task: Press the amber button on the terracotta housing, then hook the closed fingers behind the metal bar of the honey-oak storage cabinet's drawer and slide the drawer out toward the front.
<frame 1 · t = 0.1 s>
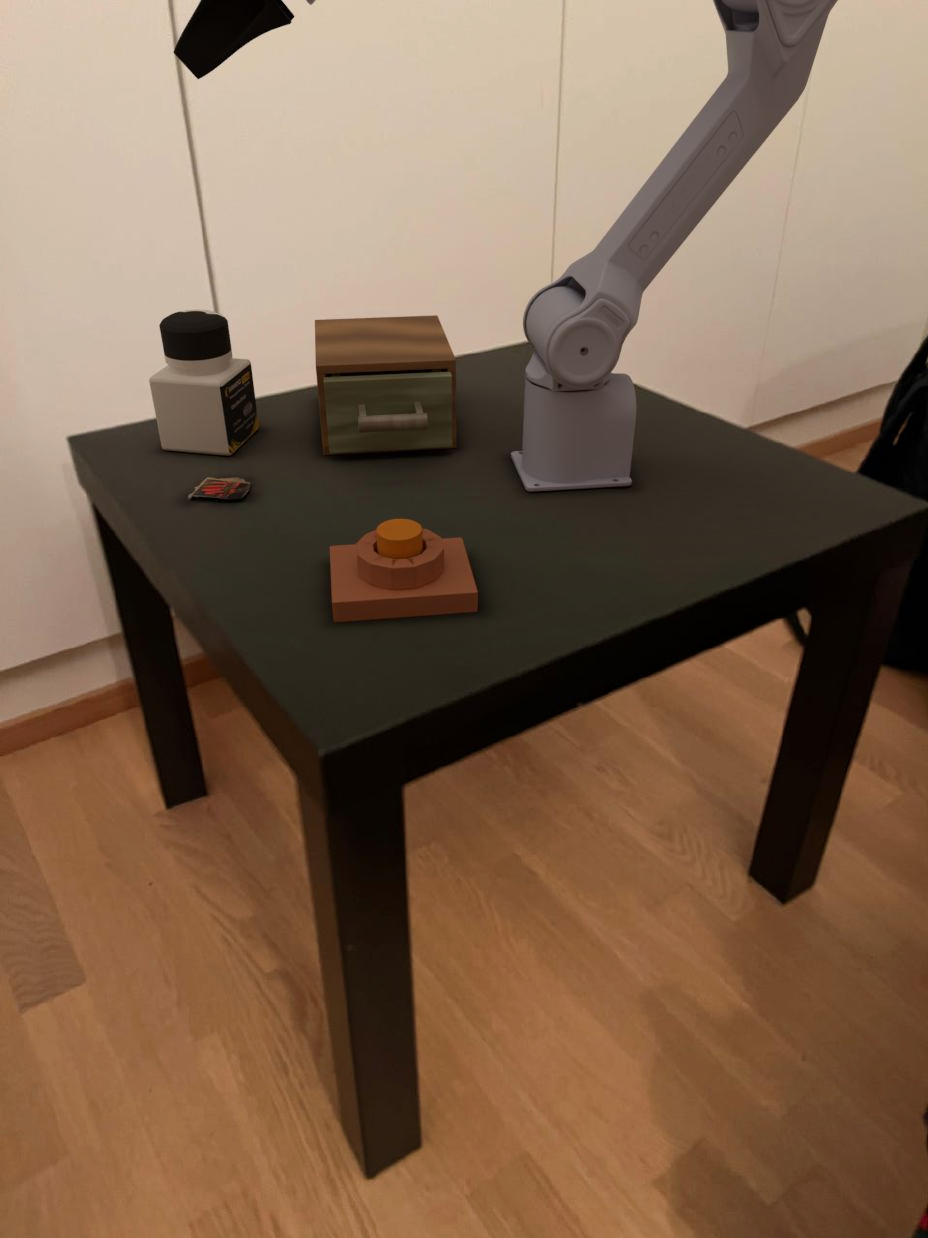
hand: (191, 62, 63), 32 cm above the table, tool tilted 50°, fingers open, 7 cm apart
button: (399, 539, 66), point 4 cm above the table, slide at 0.1 cm
matchbox: (223, 492, 81), on the table
button box: (401, 587, 68), on the table
drawer: (386, 398, 88), point 4 cm above the table, slide at 0.5 cm
cabinet: (385, 423, 94), on the table
medicine bottle: (212, 441, 91), on the table
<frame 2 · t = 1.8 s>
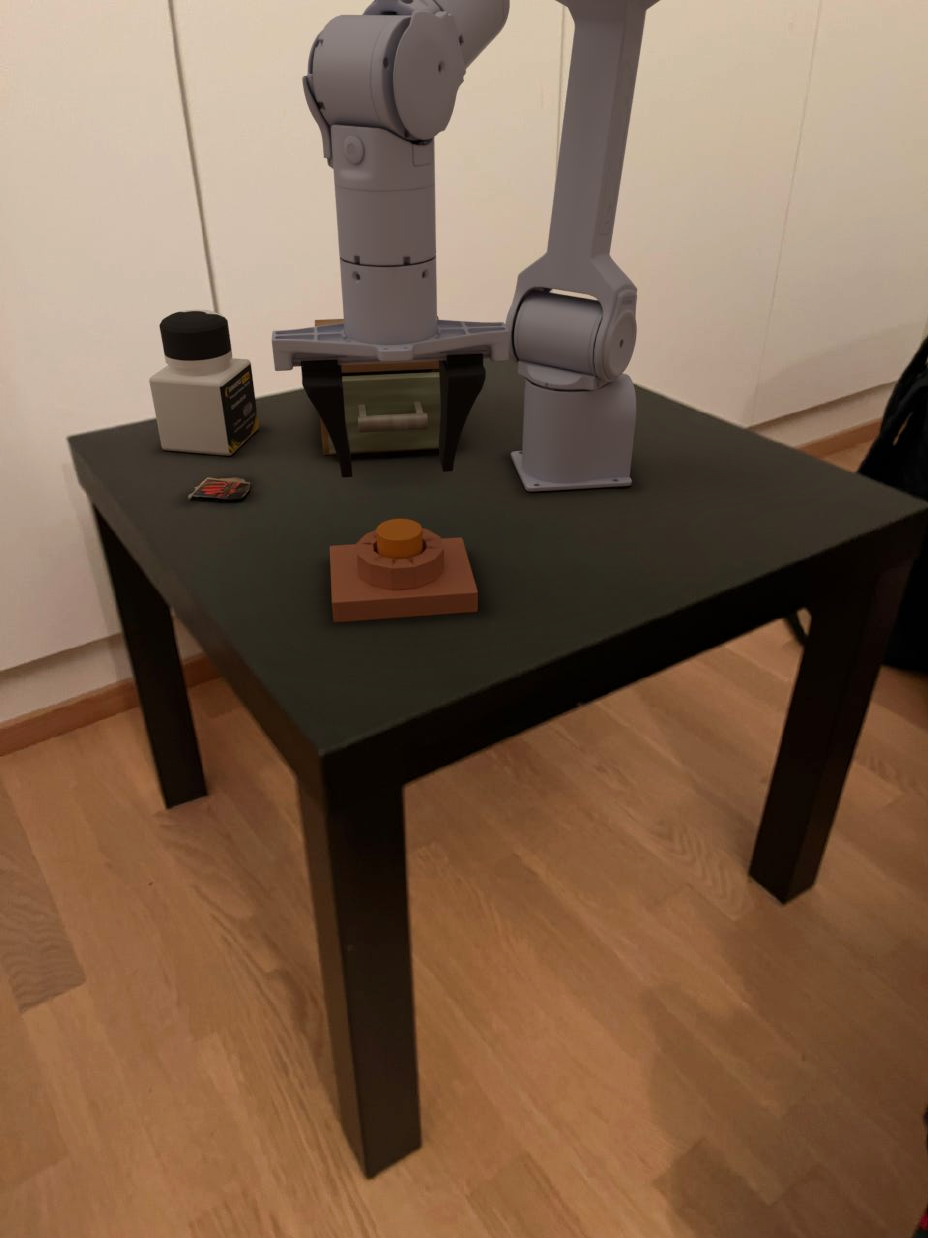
hand: (396, 468, 63), 9 cm above the table, tool pointing down, fingers open, 6 cm apart
nothing on the table moved.
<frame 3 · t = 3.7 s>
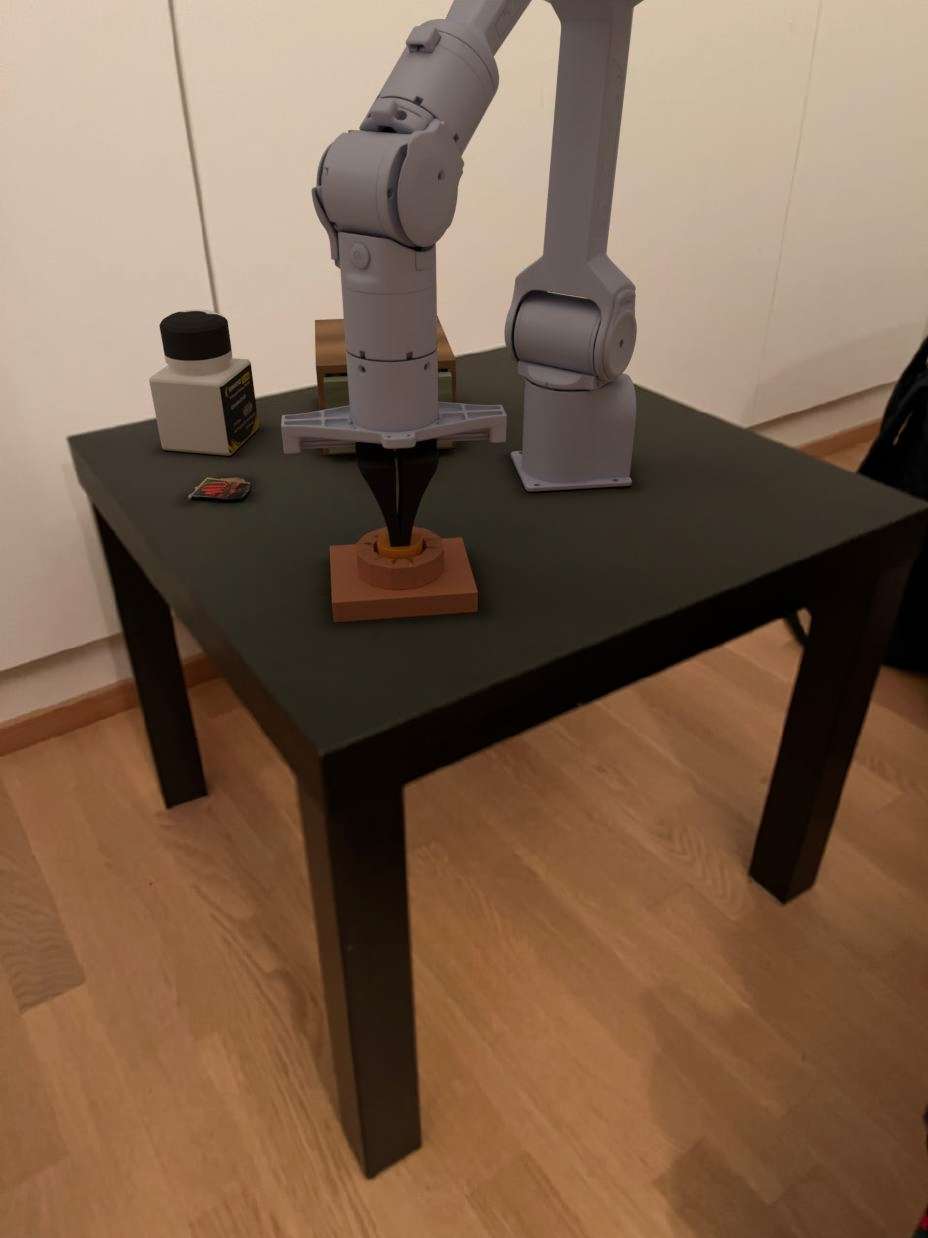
hand: (399, 540, 66), 4 cm above the table, tool pointing down, fingers closed, pressing on button
button: (400, 550, 66), point 3 cm above the table, slide at -0.8 cm, touching gripper
everything else where it was.
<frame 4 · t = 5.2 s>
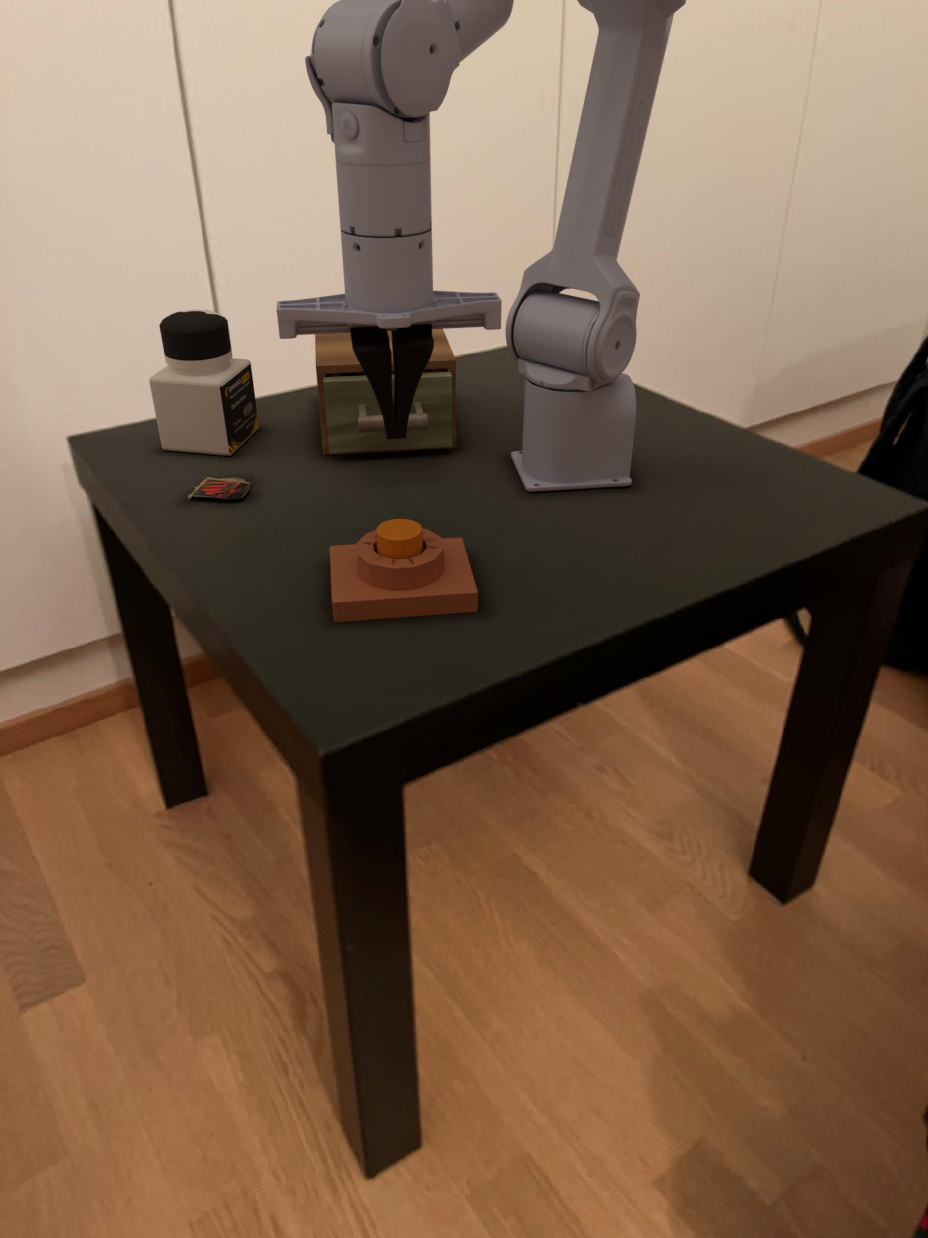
hand: (395, 433, 66), 10 cm above the table, tool pointing down, fingers closed
button: (399, 539, 66), point 4 cm above the table, slide at 0.1 cm
everything else where it was.
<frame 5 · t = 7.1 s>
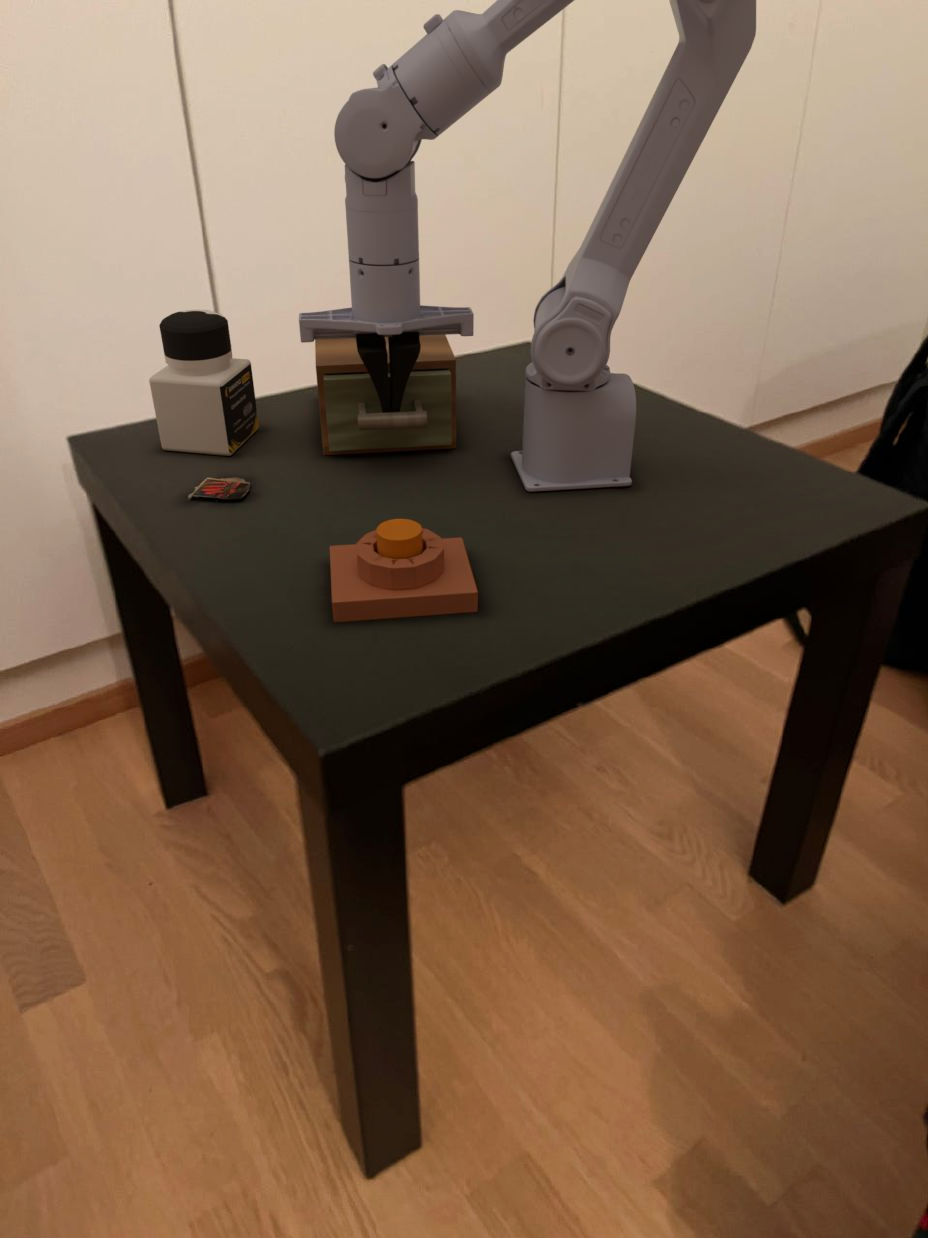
hand: (390, 417, 83), 5 cm above the table, tool pointing down, fingers closed
drawer: (386, 396, 89), point 4 cm above the table, slide at 0.0 cm
everything else where it was.
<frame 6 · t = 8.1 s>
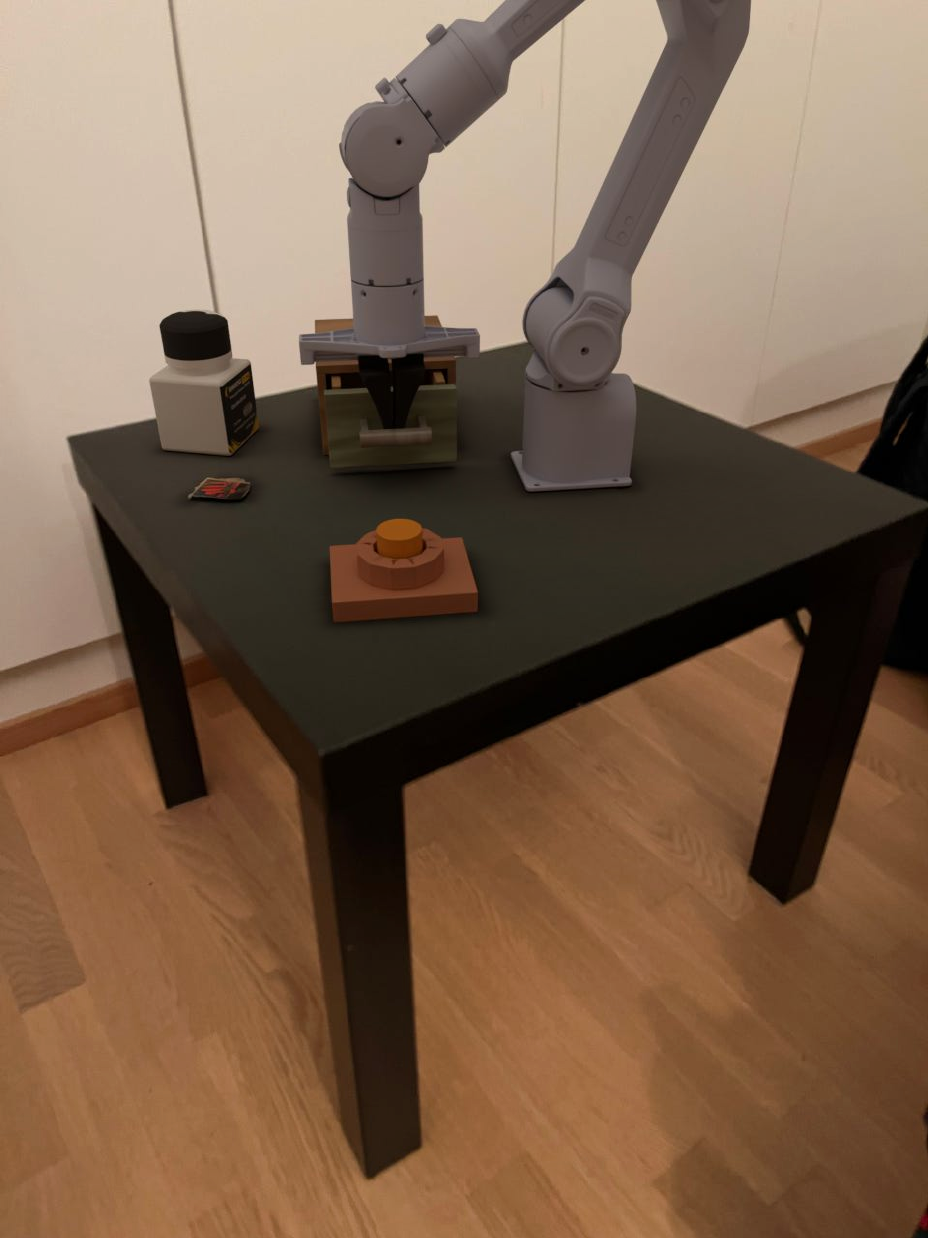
hand: (393, 441, 80), 4 cm above the table, tool pointing down, fingers closed, pressing on drawer
drawer: (389, 410, 85), point 4 cm above the table, slide at 3.8 cm, touching gripper
everything else where it was.
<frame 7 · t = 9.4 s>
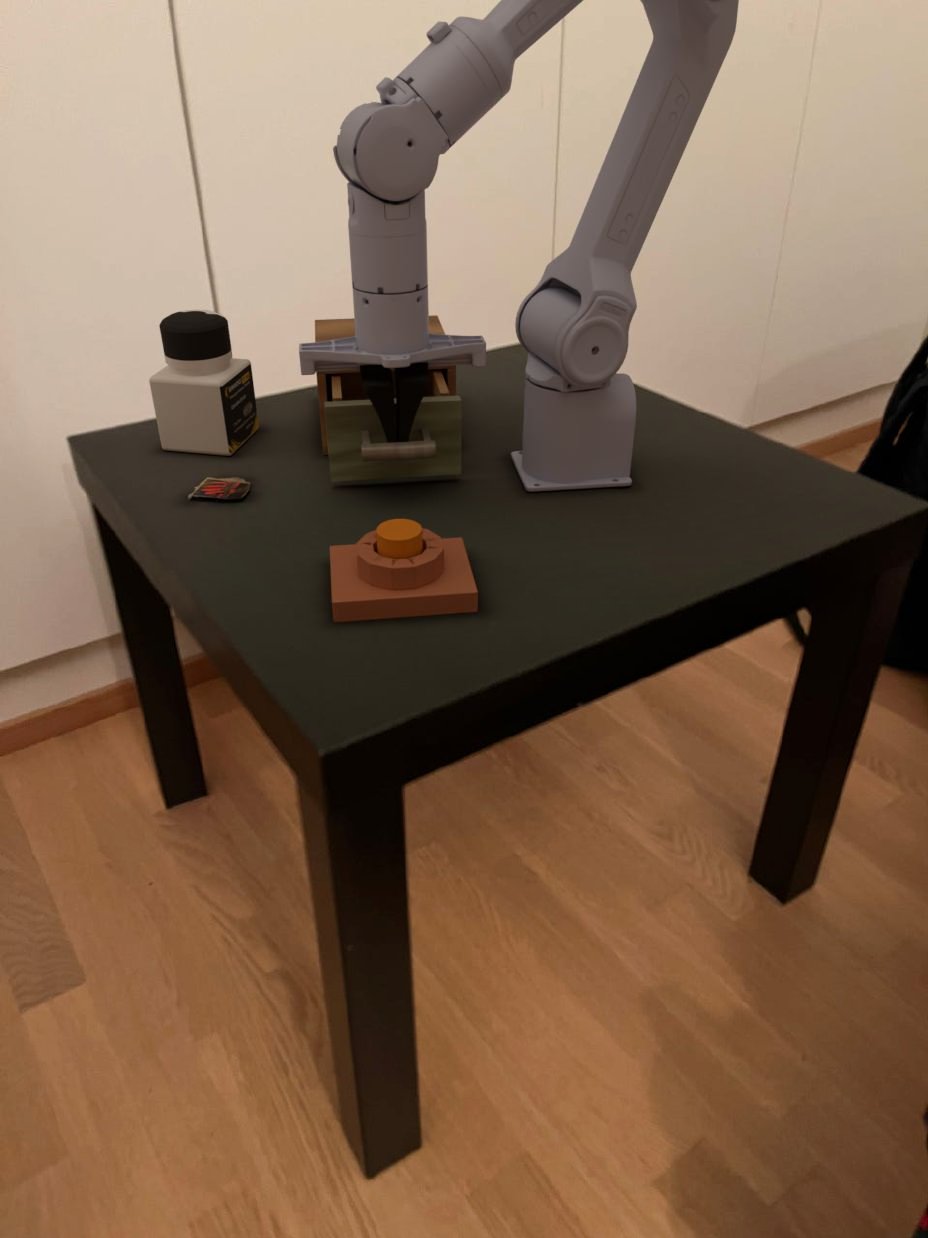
hand: (397, 452, 78), 4 cm above the table, tool pointing down, fingers closed
drawer: (391, 422, 83), point 4 cm above the table, slide at 6.7 cm
everything else where it was.
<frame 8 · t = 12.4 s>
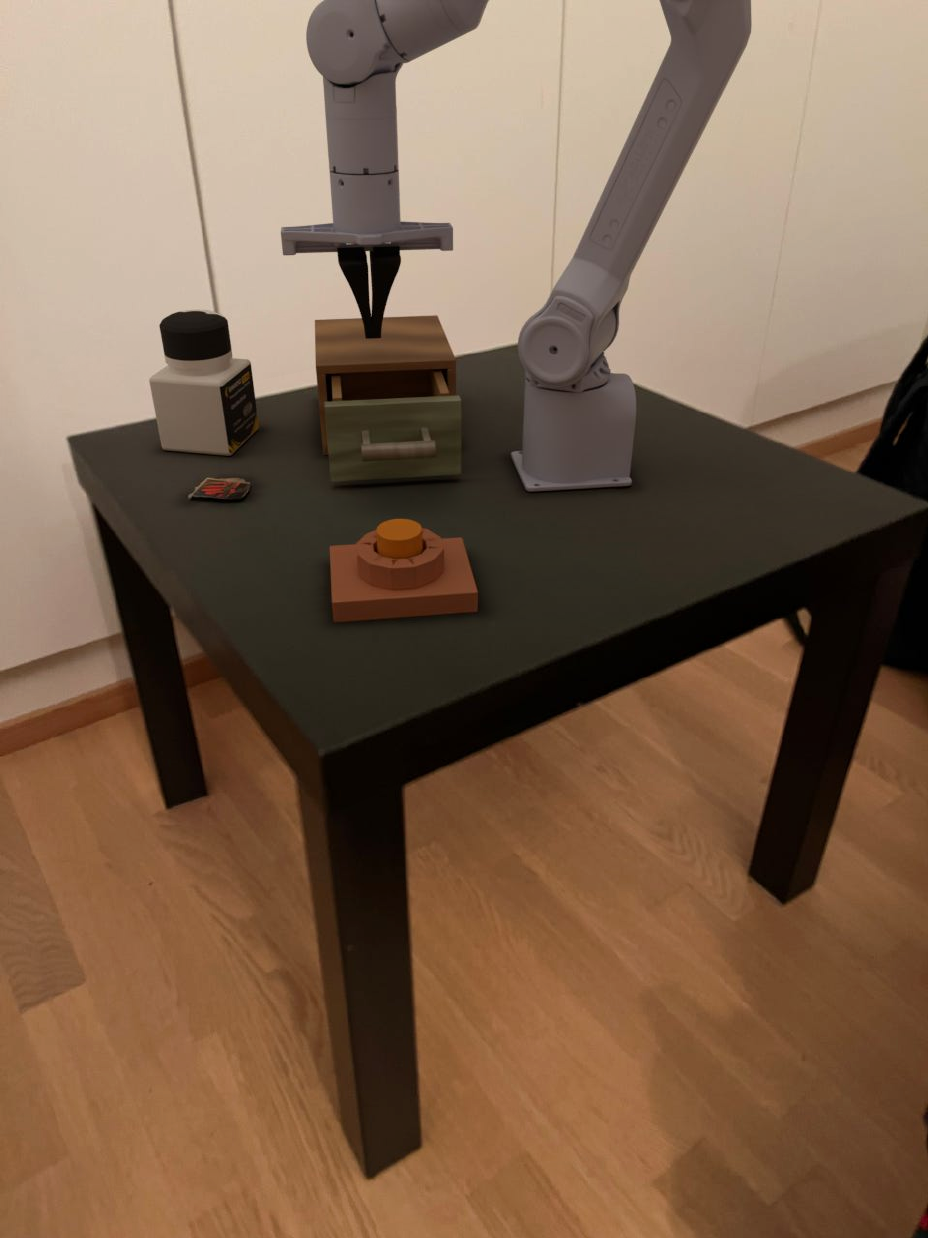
hand: (372, 335, 84), 10 cm above the table, tool pointing down, fingers closed
nothing on the table moved.
at the end: button pushed in 1.2 cm at the most during the clip, back to where it started at the end; button slide at 0.1 cm; drawer slide at 6.7 cm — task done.
